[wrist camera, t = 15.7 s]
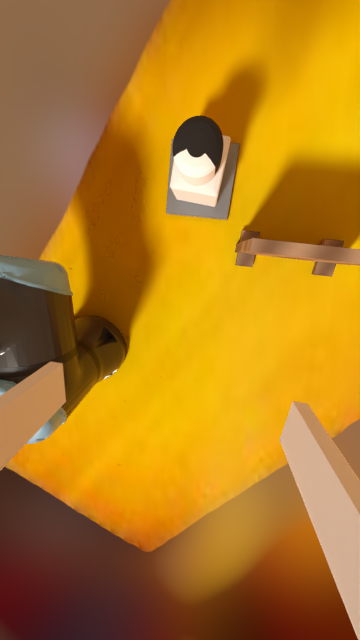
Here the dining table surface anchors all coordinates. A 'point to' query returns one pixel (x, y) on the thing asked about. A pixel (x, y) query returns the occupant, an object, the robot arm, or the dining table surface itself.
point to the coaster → (223, 198)
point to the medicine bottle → (198, 161)
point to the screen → (296, 252)
